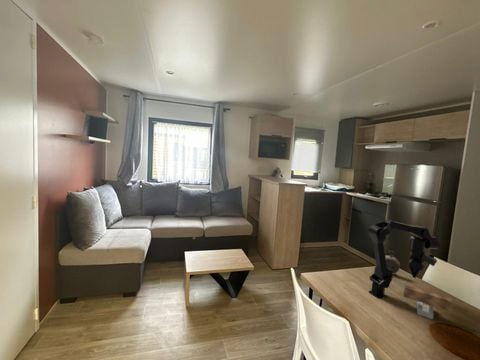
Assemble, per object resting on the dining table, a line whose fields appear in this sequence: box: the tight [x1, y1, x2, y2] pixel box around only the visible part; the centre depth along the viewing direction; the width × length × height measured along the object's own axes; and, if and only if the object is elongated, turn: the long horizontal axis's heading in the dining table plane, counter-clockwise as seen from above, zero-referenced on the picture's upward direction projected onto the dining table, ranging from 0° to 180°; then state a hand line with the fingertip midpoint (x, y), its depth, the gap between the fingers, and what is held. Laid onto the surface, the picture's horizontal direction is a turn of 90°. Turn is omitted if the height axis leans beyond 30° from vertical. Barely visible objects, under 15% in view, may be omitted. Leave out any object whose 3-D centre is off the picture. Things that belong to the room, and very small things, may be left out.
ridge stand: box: [416, 301, 435, 320], centre depth 112 cm, size 6×10×5 cm, turn 141°
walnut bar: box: [403, 284, 453, 312], centre depth 112 cm, size 18×4×5 cm, turn 55°
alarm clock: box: [385, 250, 401, 276], centre depth 151 cm, size 11×5×16 cm, turn 46°
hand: (414, 274), depth 126 cm, fingers open, 9 cm apart
